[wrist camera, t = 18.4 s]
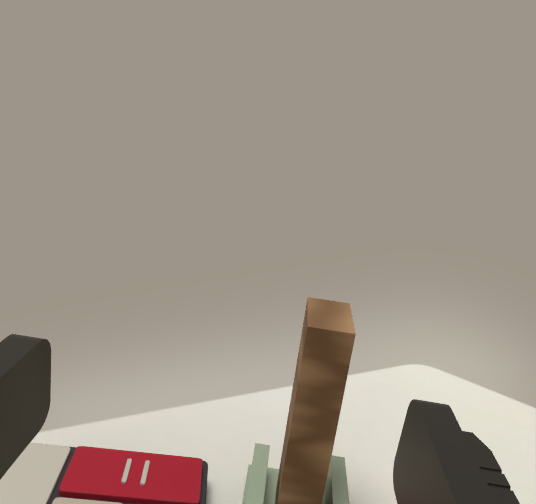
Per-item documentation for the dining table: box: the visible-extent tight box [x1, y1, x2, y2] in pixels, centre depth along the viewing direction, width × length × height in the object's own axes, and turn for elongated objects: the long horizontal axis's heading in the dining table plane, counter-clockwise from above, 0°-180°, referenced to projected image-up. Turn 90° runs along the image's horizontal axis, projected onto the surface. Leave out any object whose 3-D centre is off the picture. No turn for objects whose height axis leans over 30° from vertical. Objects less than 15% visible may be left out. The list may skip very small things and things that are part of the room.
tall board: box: [275, 297, 355, 504], centre depth 36 cm, size 3×5×17 cm, turn 175°
